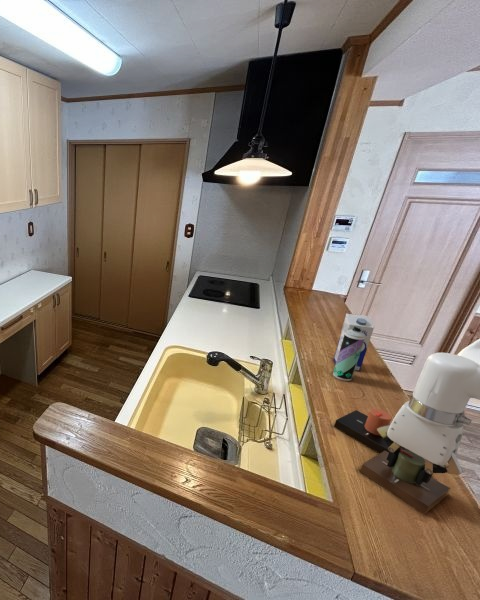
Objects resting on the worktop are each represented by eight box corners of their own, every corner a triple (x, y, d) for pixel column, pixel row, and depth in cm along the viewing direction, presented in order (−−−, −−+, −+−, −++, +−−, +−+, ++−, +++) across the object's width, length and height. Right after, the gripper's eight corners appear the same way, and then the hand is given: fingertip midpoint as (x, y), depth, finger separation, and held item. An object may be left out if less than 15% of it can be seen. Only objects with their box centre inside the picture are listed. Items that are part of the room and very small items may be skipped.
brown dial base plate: (446, 496, 73) (450, 487, 72) (424, 514, 69) (428, 505, 68) (381, 457, 83) (385, 449, 82) (359, 471, 79) (362, 463, 79)
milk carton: (354, 362, 126) (369, 315, 119) (360, 371, 120) (376, 322, 113) (332, 359, 129) (346, 312, 122) (337, 367, 123) (351, 319, 116)
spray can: (331, 371, 121) (346, 322, 114) (350, 375, 118) (366, 325, 111) (333, 378, 117) (348, 328, 110) (352, 382, 114) (369, 331, 107)
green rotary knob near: (421, 479, 74) (430, 460, 72) (411, 486, 73) (420, 467, 71) (397, 465, 78) (405, 446, 76) (387, 471, 76) (395, 452, 74)
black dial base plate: (413, 449, 86) (417, 441, 85) (393, 462, 82) (397, 454, 81) (353, 416, 98) (356, 409, 97) (333, 426, 94) (336, 419, 93)
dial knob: (369, 422, 92) (375, 405, 90) (388, 432, 88) (395, 415, 86) (361, 427, 90) (367, 410, 88) (380, 438, 86) (387, 420, 84)
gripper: (501, 429, 63) (464, 497, 69) (394, 383, 78) (371, 443, 84) (485, 441, 60) (448, 511, 66) (376, 391, 75) (354, 452, 81)
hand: (405, 472), depth 75 cm, fingers closed on green rotary knob near, 4 cm apart
